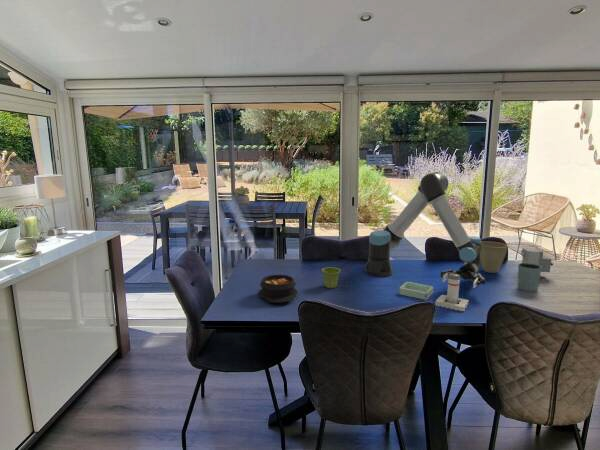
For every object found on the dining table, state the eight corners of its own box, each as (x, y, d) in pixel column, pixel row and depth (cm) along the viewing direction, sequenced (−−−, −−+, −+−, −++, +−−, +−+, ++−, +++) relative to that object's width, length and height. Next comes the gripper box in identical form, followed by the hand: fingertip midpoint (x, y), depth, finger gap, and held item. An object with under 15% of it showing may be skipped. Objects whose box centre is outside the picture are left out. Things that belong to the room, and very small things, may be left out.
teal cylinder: (530, 293, 190) (533, 269, 188) (511, 286, 199) (513, 264, 197) (543, 290, 195) (546, 266, 193) (523, 283, 204) (526, 261, 201)
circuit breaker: (552, 279, 211) (555, 252, 208) (523, 277, 214) (526, 251, 211) (546, 274, 218) (550, 249, 216) (518, 273, 221) (521, 247, 218)
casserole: (301, 305, 175) (301, 287, 174) (260, 307, 172) (259, 289, 171) (293, 286, 199) (293, 270, 198) (257, 288, 196) (256, 272, 195)
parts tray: (398, 293, 189) (399, 287, 188) (406, 287, 198) (406, 281, 197) (426, 299, 182) (426, 293, 181) (433, 292, 191) (433, 286, 190)
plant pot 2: (506, 276, 216) (509, 248, 213) (477, 273, 221) (480, 246, 218) (503, 268, 229) (506, 242, 226) (475, 266, 234) (478, 240, 231)
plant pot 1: (341, 284, 202) (342, 268, 200) (337, 290, 193) (338, 273, 192) (324, 282, 205) (324, 266, 203) (319, 288, 196) (319, 271, 195)
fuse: (444, 305, 175) (447, 275, 172) (447, 301, 179) (449, 272, 176) (456, 308, 172) (458, 277, 170) (459, 304, 176) (461, 274, 174)
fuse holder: (435, 305, 175) (435, 301, 175) (441, 298, 183) (441, 294, 183) (463, 311, 168) (463, 307, 168) (468, 304, 176) (468, 300, 176)
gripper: (494, 282, 193) (486, 295, 175) (442, 273, 206) (430, 284, 189) (495, 267, 191) (488, 279, 174) (443, 259, 205) (431, 270, 188)
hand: (458, 282), depth 182 cm, fingers open, 13 cm apart
